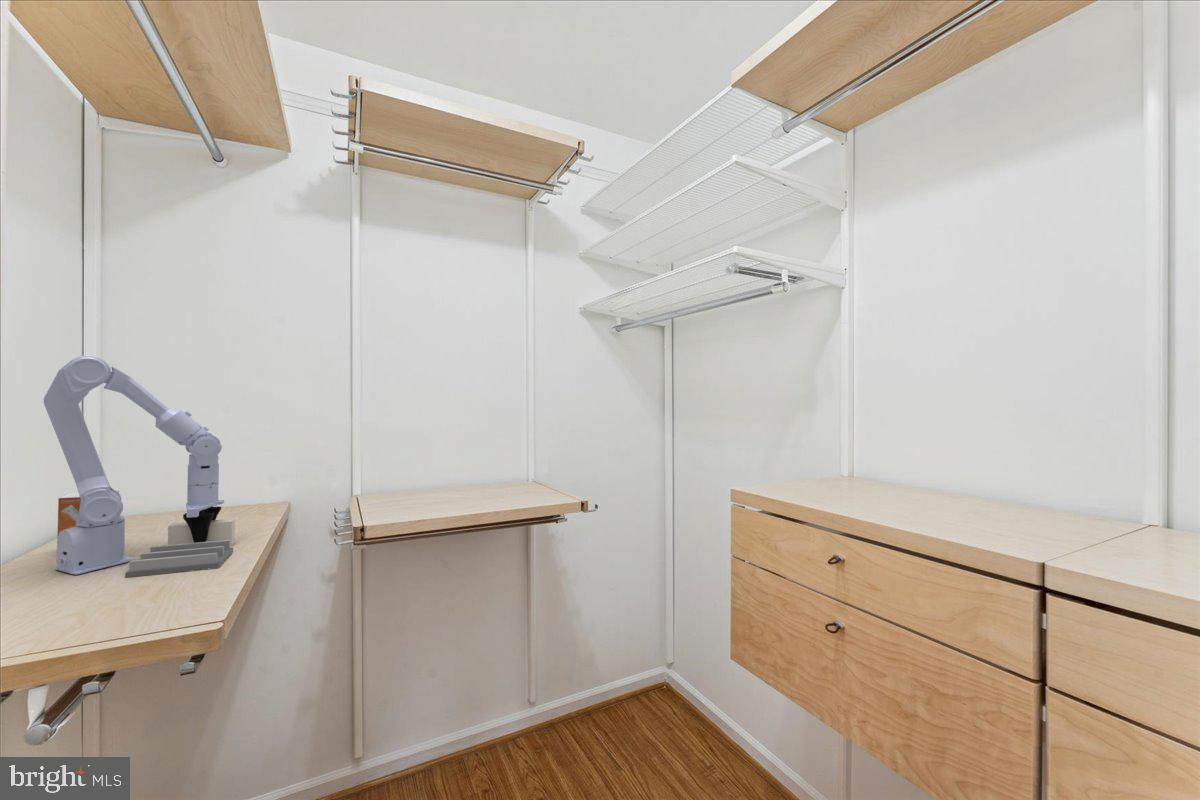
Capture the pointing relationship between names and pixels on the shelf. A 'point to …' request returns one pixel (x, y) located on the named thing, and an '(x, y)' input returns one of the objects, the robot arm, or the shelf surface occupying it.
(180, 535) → the long beige block
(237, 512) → the shelf surface
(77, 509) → the small box
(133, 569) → the ridged grey tray
